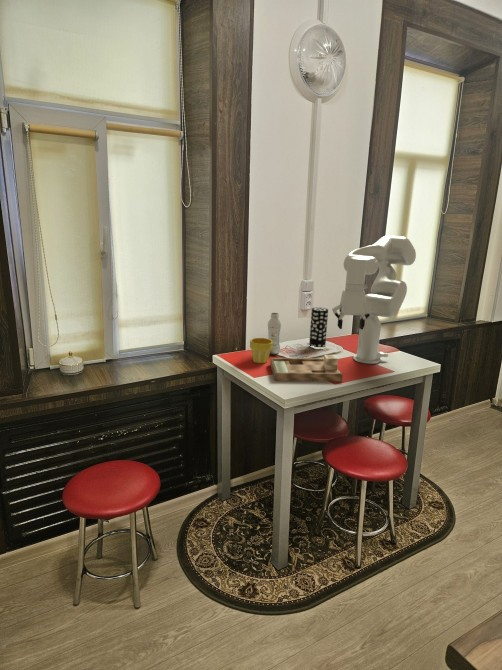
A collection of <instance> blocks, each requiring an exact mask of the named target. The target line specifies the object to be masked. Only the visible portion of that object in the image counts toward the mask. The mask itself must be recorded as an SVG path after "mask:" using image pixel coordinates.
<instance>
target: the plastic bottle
mask: <svg viewBox="0 0 502 670" xmlns="http://www.w3.org/2000/svg"><path fill="white" fill-rule="evenodd" d="M279 315H280V314H279V313H278V312H271V313H270V319H269V320H268V322H267V331H268V334H267V335H268V336H267V337H268V338H267V339H270V340H272V342H273V344H272V349H271V350H270V354H269V355H277V354H276V353H278V354H279V353H280V350H281V345H280V344H281V343H280V334H281V327H282V323H281V321H280V319H279Z"/></svg>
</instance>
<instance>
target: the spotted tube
mask: <svg viewBox="0 0 502 670" xmlns="http://www.w3.org/2000/svg"><path fill="white" fill-rule="evenodd" d="M310 312H311V314H310V325H309V326H310V328H309V342H308V346H309V345H310V346H314V347H325V348H326V346H327V345H326V343H327V340H326V339H327V329H328V319H329V318H328V317H329V309H328V308H327V307H326V308H325V307H312V308H311V311H310Z"/></svg>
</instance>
